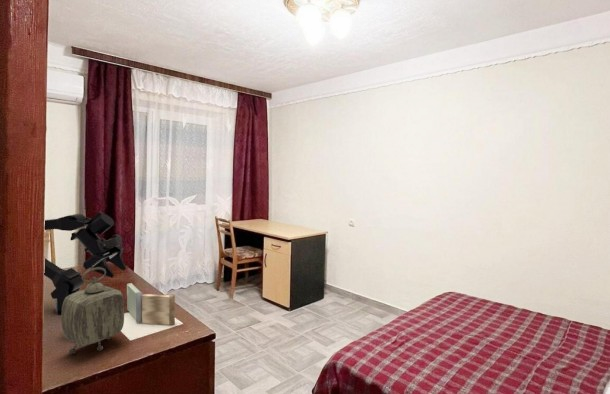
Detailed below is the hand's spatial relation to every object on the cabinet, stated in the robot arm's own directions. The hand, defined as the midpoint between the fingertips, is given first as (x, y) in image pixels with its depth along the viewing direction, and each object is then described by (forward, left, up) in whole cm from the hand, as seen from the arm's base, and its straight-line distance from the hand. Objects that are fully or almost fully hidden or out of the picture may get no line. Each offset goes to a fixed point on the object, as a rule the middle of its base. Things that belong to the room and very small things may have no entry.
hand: (119, 273), depth 130 cm
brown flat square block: (+6, -22, -14) cm, 27 cm away
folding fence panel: (+2, -10, -14) cm, 17 cm away
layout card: (+3, -16, -15) cm, 22 cm away
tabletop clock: (-15, -25, -15) cm, 33 cm away
